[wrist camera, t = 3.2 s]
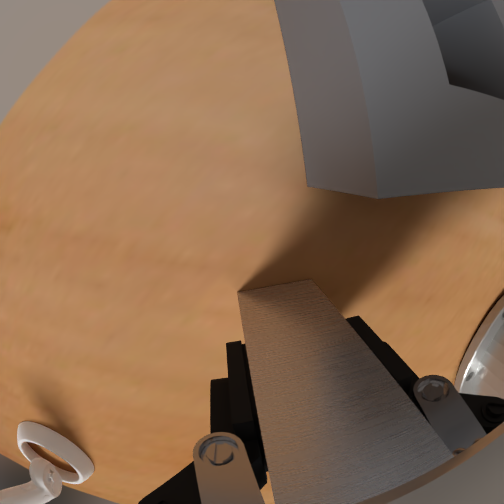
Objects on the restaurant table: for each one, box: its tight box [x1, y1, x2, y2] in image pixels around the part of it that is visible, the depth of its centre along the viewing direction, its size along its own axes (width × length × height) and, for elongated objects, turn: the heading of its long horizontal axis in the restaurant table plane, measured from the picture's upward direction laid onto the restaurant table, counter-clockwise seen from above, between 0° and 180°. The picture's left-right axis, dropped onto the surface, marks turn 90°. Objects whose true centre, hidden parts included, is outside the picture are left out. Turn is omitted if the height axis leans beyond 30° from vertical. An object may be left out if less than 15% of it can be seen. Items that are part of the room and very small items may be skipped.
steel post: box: [237, 279, 454, 504], centre depth 8 cm, size 4×4×13 cm
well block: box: [274, 0, 504, 199], centre depth 8 cm, size 12×12×6 cm
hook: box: [0, 421, 94, 504], centre depth 12 cm, size 8×12×7 cm
